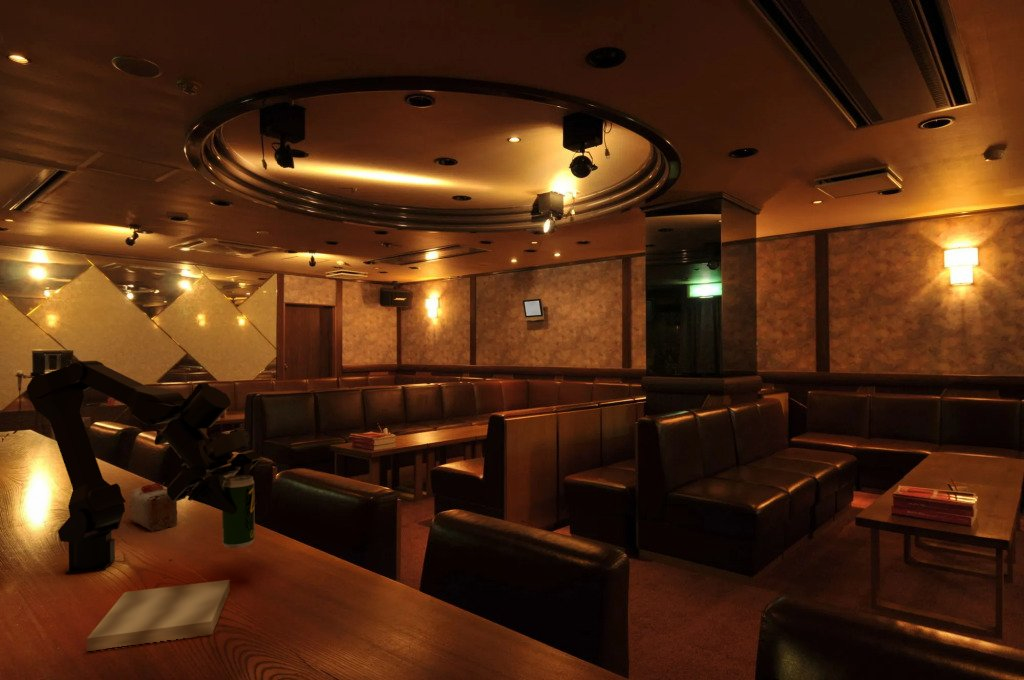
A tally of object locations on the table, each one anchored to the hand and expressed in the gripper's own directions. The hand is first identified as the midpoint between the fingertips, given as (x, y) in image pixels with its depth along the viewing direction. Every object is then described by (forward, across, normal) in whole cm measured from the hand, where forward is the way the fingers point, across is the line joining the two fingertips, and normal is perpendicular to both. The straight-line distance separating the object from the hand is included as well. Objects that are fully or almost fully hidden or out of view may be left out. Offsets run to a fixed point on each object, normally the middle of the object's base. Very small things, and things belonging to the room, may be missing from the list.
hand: (245, 508), depth 108 cm
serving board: (+7, -15, +11) cm, 21 cm away
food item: (-21, +26, +41) cm, 53 cm away
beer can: (+4, 0, +6) cm, 7 cm away
